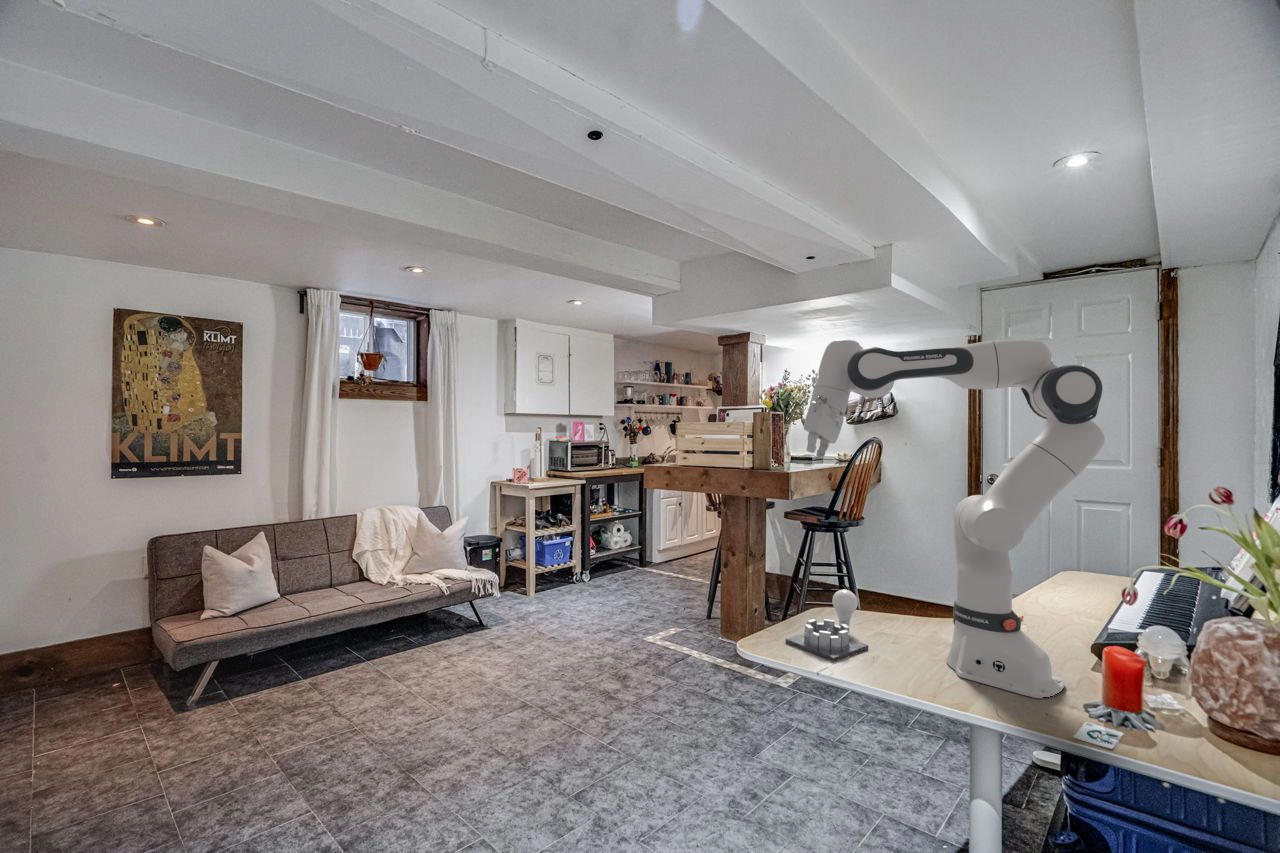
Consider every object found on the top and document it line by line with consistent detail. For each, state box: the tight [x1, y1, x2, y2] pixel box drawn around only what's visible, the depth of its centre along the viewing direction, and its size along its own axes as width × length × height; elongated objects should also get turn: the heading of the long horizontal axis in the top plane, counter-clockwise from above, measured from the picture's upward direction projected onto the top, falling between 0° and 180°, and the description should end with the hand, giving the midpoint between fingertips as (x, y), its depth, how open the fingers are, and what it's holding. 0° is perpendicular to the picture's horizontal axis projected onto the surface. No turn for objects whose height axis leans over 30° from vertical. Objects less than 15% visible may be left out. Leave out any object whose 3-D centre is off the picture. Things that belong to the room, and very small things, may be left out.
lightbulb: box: [831, 588, 859, 628], centre depth 158 cm, size 6×6×11 cm
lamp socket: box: [785, 618, 869, 663], centre depth 147 cm, size 14×14×5 cm
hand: (815, 454), depth 150 cm, fingers open, 8 cm apart
